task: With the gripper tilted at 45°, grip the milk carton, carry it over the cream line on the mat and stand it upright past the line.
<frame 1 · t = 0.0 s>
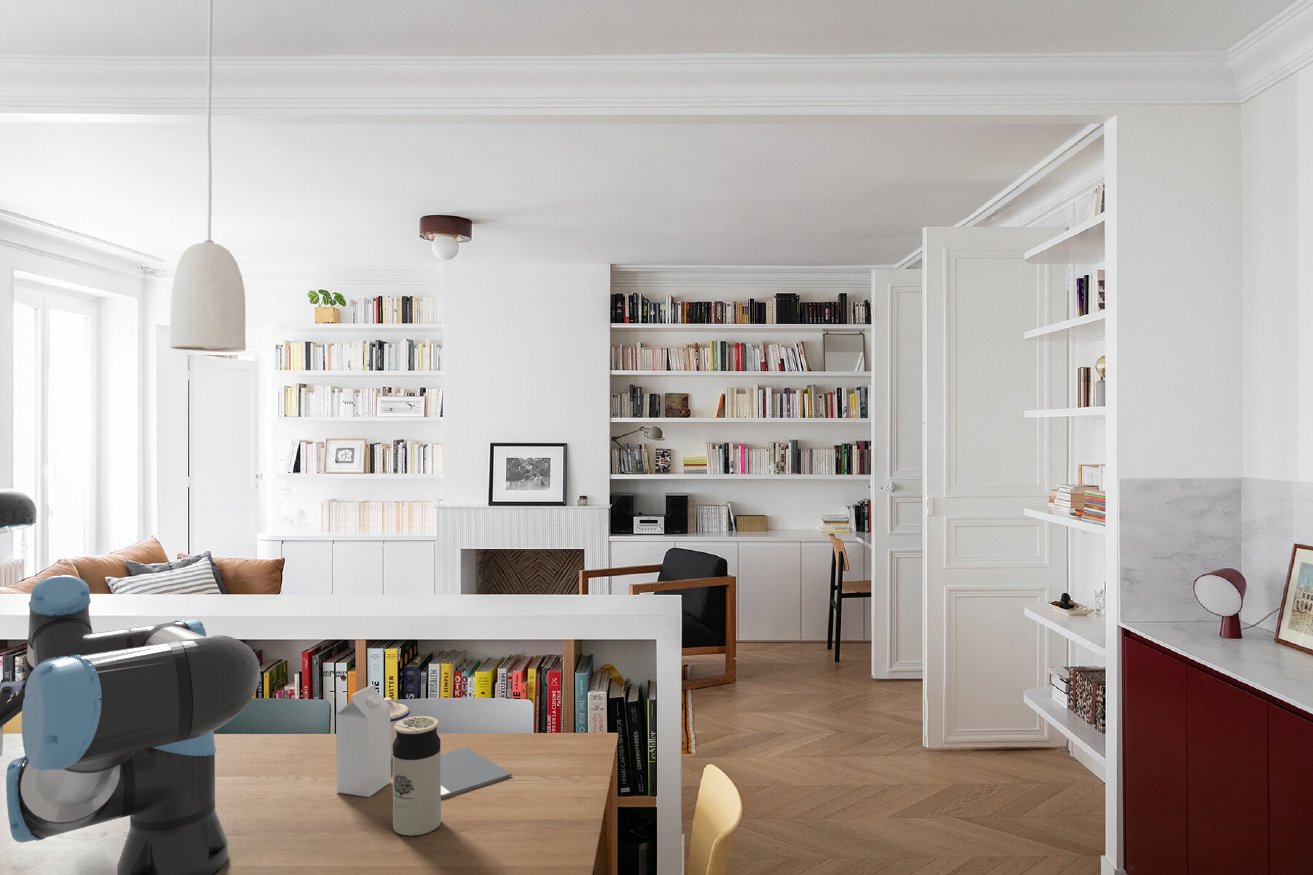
hand: (48, 739, 146), 15 cm above the table, tool tilted 35°, fingers open, 13 cm apart
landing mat: (452, 773, 169), on the table
teacup with lid: (384, 756, 178), on the table
milk carton: (364, 788, 163), on the table
travel mug: (417, 827, 147), on the table
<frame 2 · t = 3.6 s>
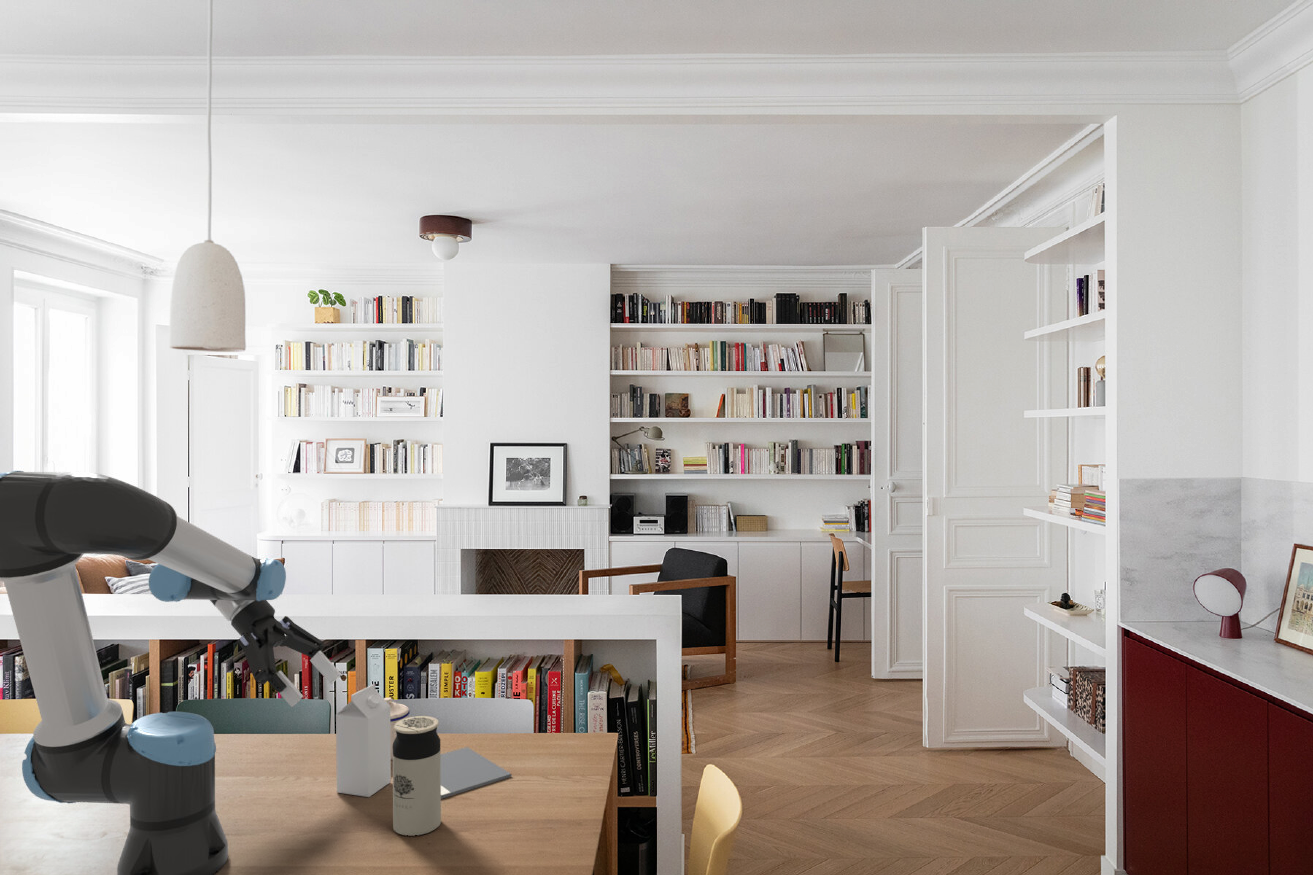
hand: (317, 690, 164), 18 cm above the table, tool tilted 45°, fingers open, 13 cm apart
nothing on the table moved.
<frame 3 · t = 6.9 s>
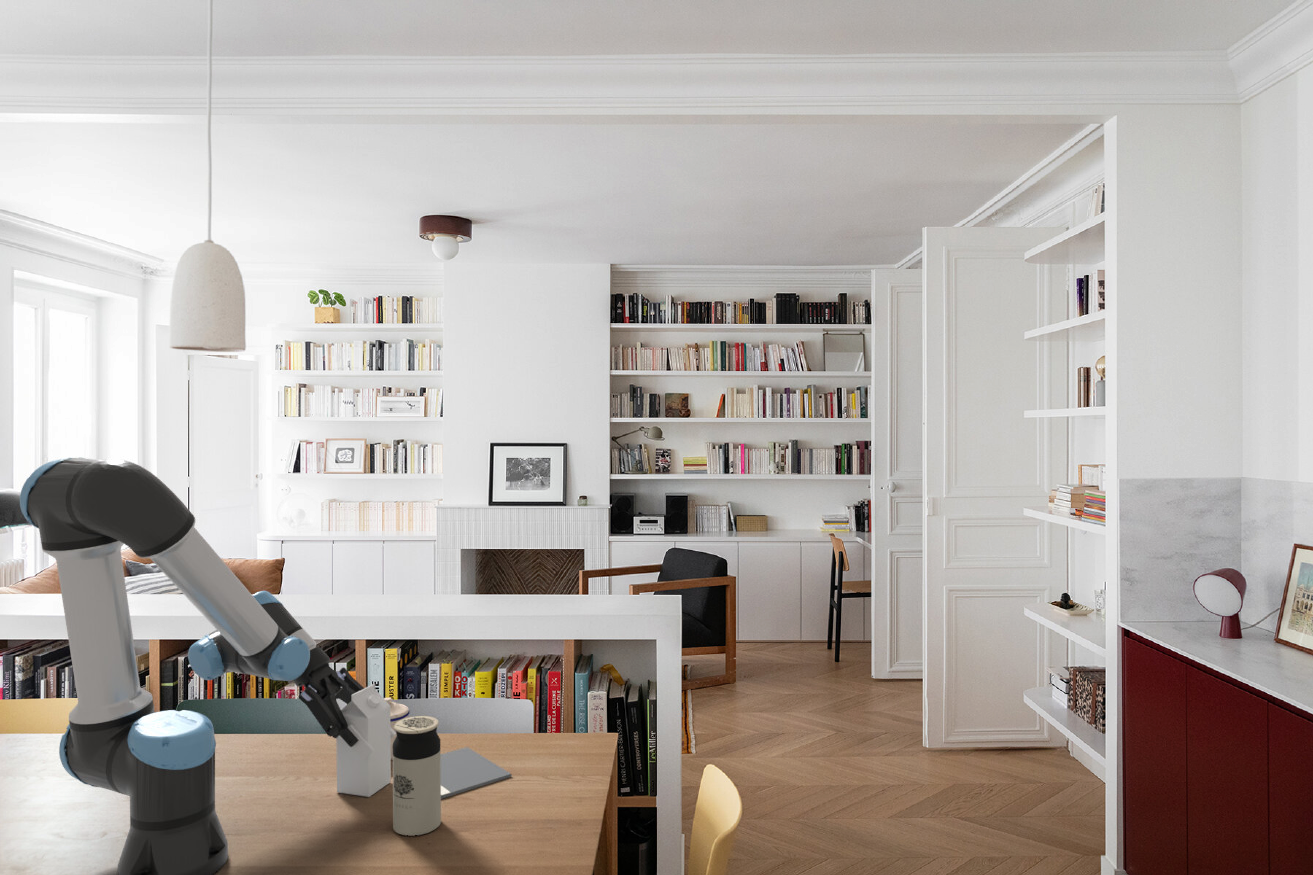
hand: (380, 746, 162), 8 cm above the table, tool tilted 45°, fingers closed on milk carton, 8 cm apart
milk carton: (364, 788, 163), on the table, touching gripper
everything else where it was.
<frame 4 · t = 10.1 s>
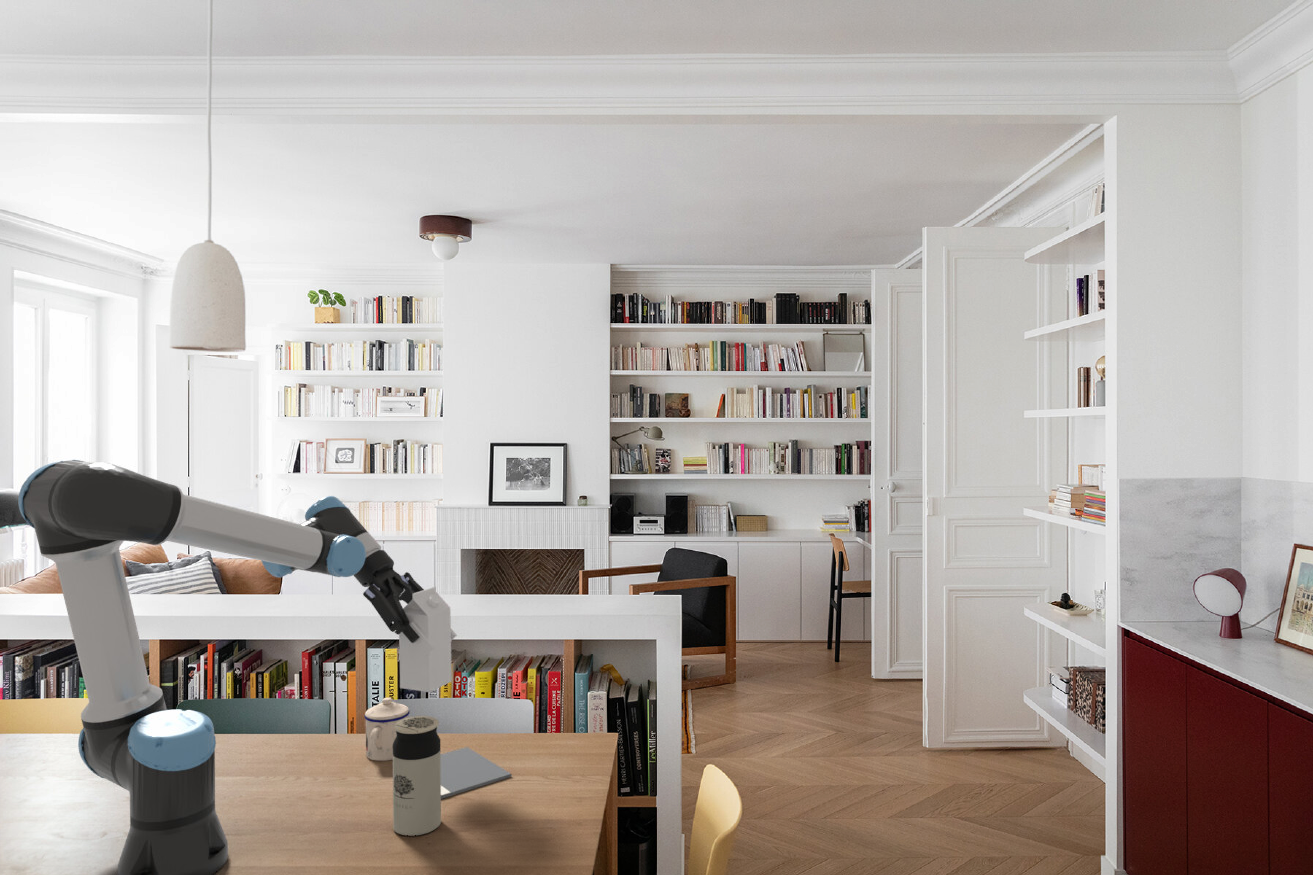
hand: (441, 645, 167), 26 cm above the table, tool tilted 45°, fingers closed on milk carton, 8 cm apart
milk carton: (426, 686, 168), point 18 cm above the table, touching gripper
everything else where it was.
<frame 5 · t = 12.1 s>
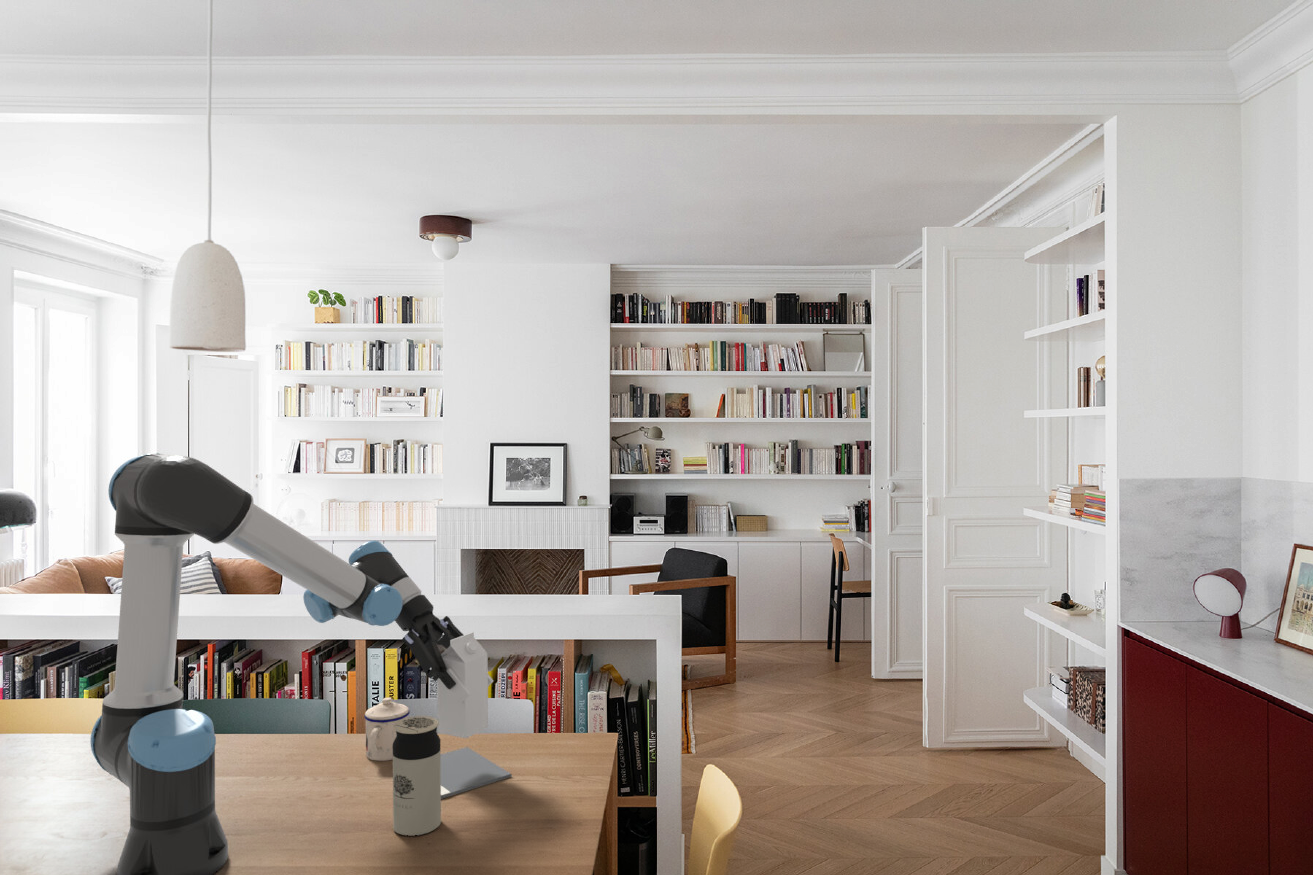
hand: (477, 691, 168), 17 cm above the table, tool tilted 45°, fingers closed on milk carton, 8 cm apart
milk carton: (463, 731, 170), point 8 cm above the table, touching gripper
everything else where it was.
when the fingers open (10 cm above the table, at t = 13.7 s): milk carton drops 1 cm, resting on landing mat.
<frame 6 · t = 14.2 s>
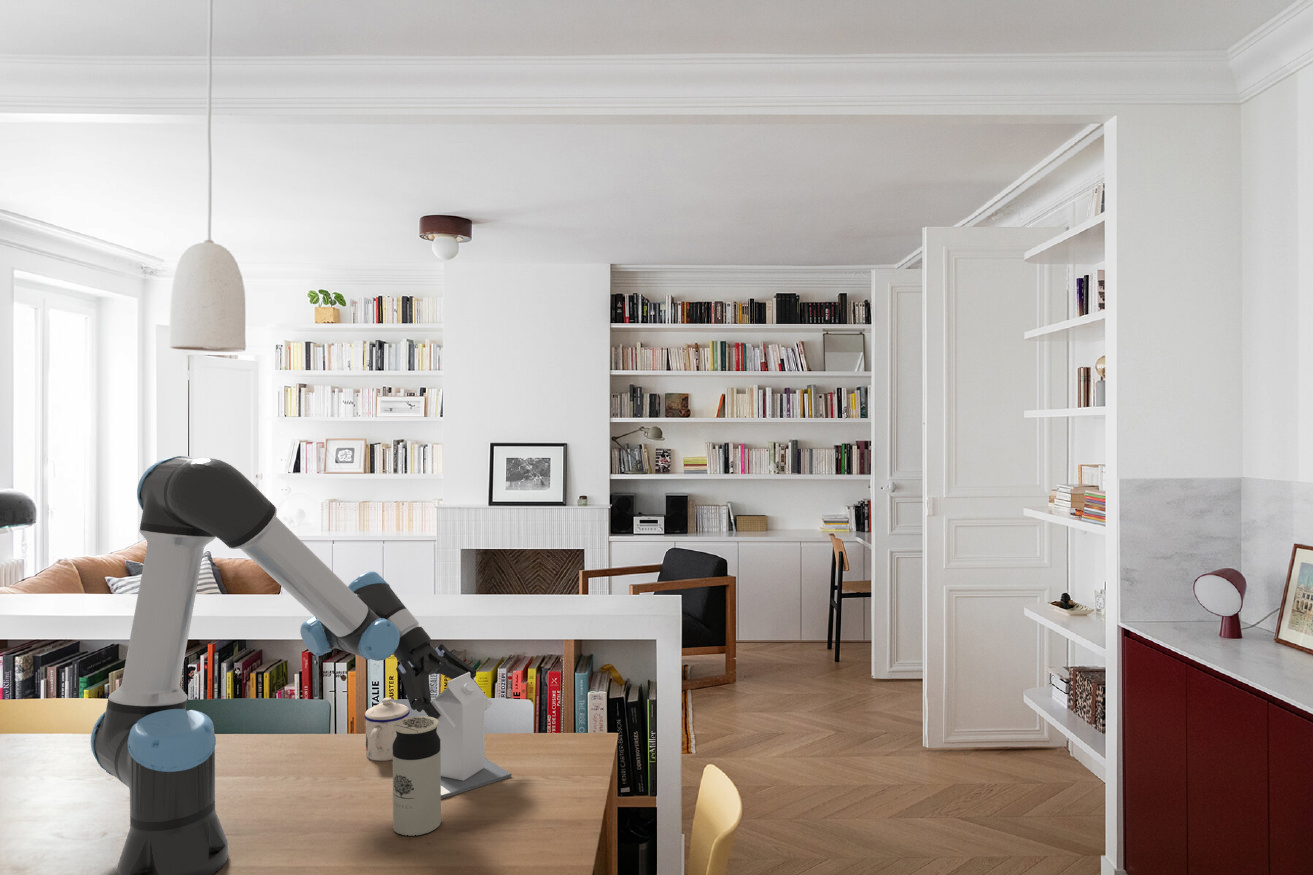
hand: (469, 719, 168), 11 cm above the table, tool tilted 45°, fingers open, 13 cm apart
milk carton: (459, 772, 169), resting on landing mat
everything else where it was.
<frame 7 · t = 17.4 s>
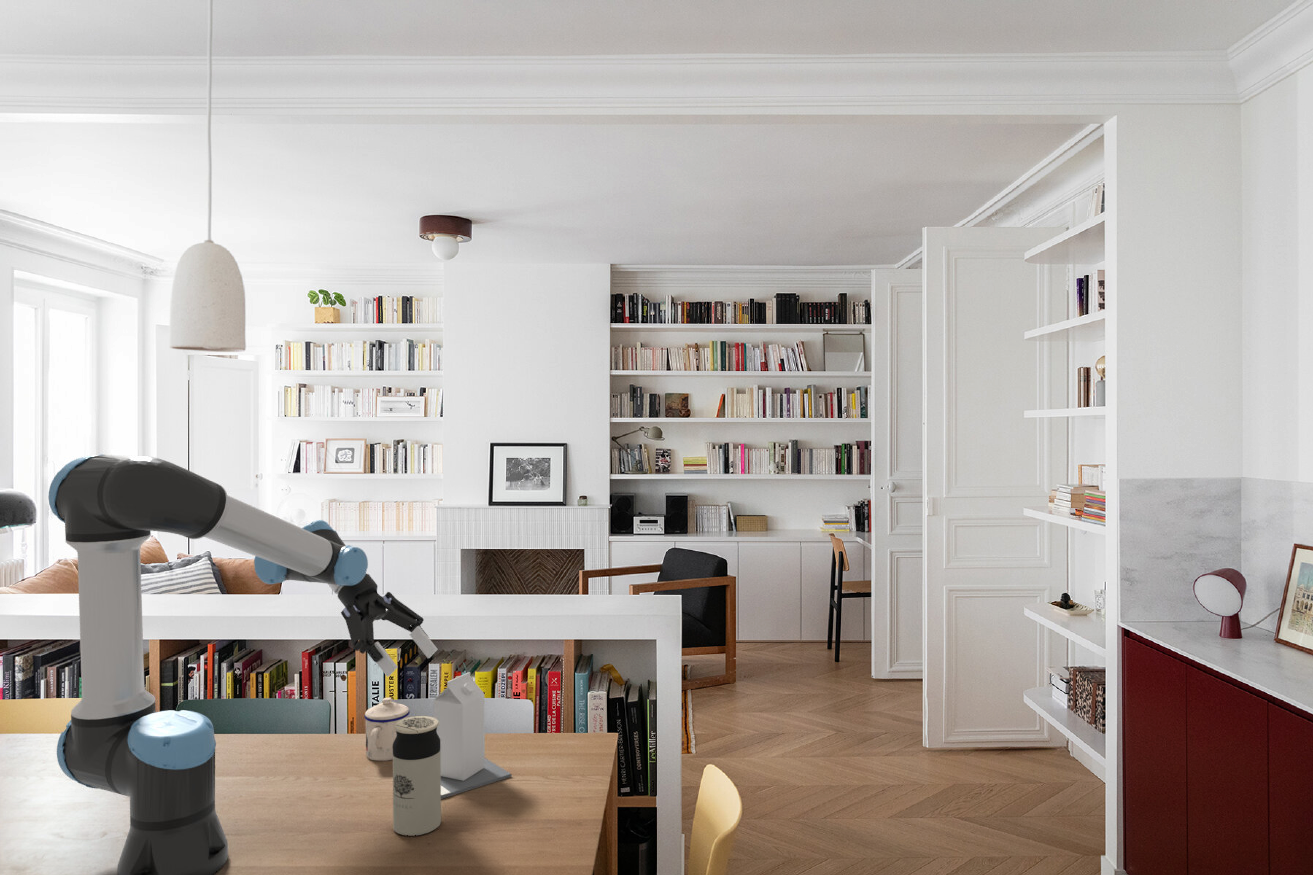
hand: (413, 662, 172), 21 cm above the table, tool tilted 45°, fingers open, 13 cm apart
nothing on the table moved.
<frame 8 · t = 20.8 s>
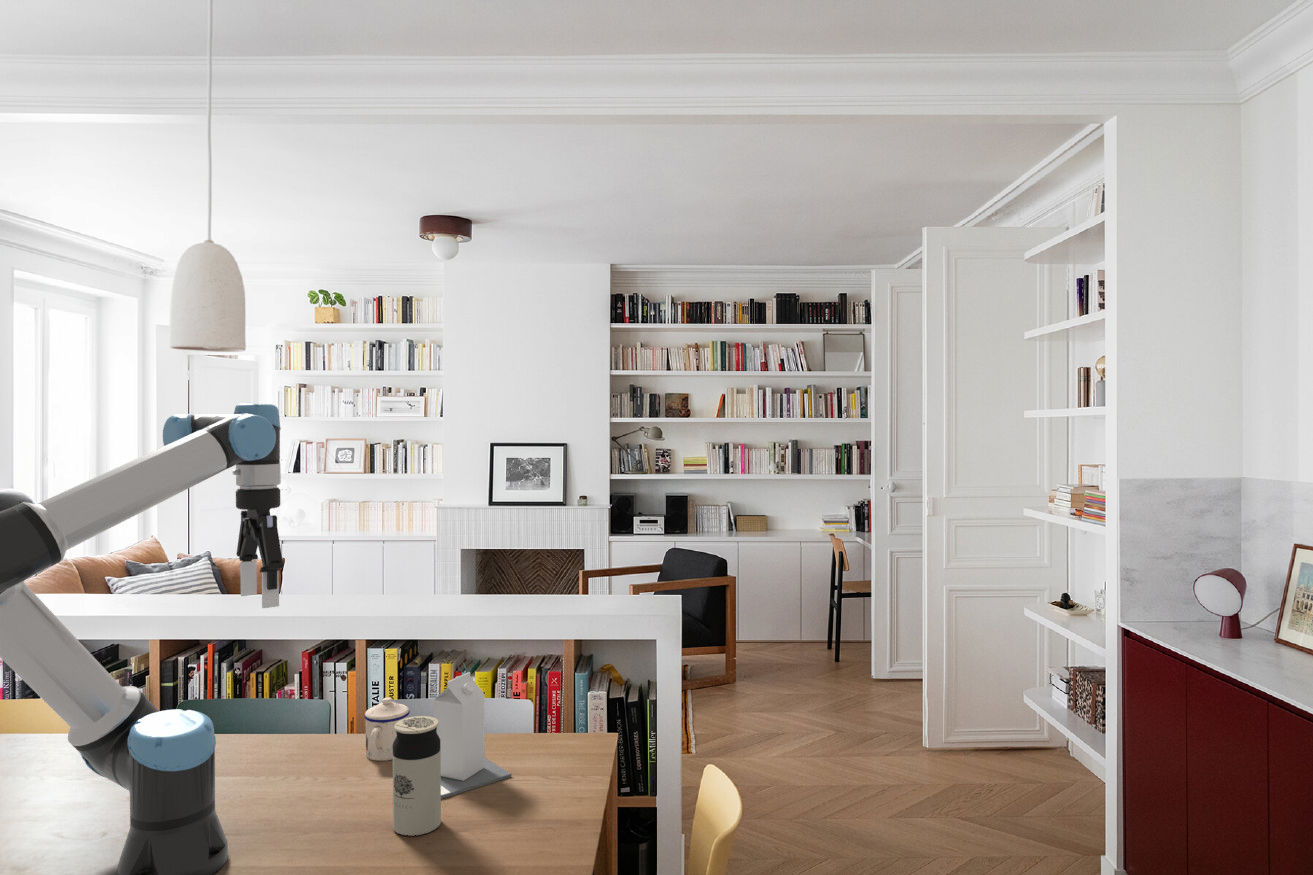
hand: (259, 600, 158), 37 cm above the table, tool pointing down, fingers open, 13 cm apart
nothing on the table moved.
at the end: milk carton inside the target area (1.8 cm from its centre), resting on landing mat; milk carton tilted 0°; the gripper is holding nothing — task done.
